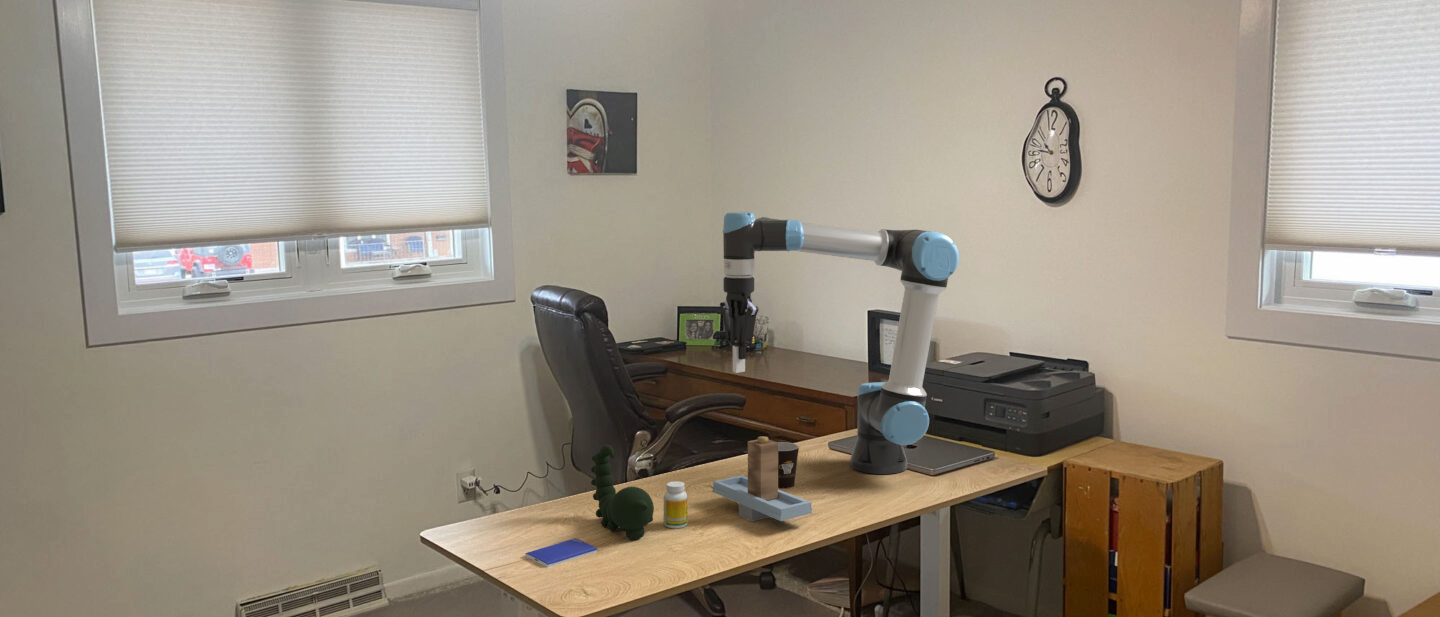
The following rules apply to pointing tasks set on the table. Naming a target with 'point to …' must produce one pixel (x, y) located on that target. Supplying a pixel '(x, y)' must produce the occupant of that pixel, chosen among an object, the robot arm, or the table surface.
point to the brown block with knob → (763, 468)
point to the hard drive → (561, 552)
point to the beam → (761, 501)
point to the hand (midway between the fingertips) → (738, 371)
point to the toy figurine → (619, 500)
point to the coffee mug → (787, 464)
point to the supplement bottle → (675, 505)
